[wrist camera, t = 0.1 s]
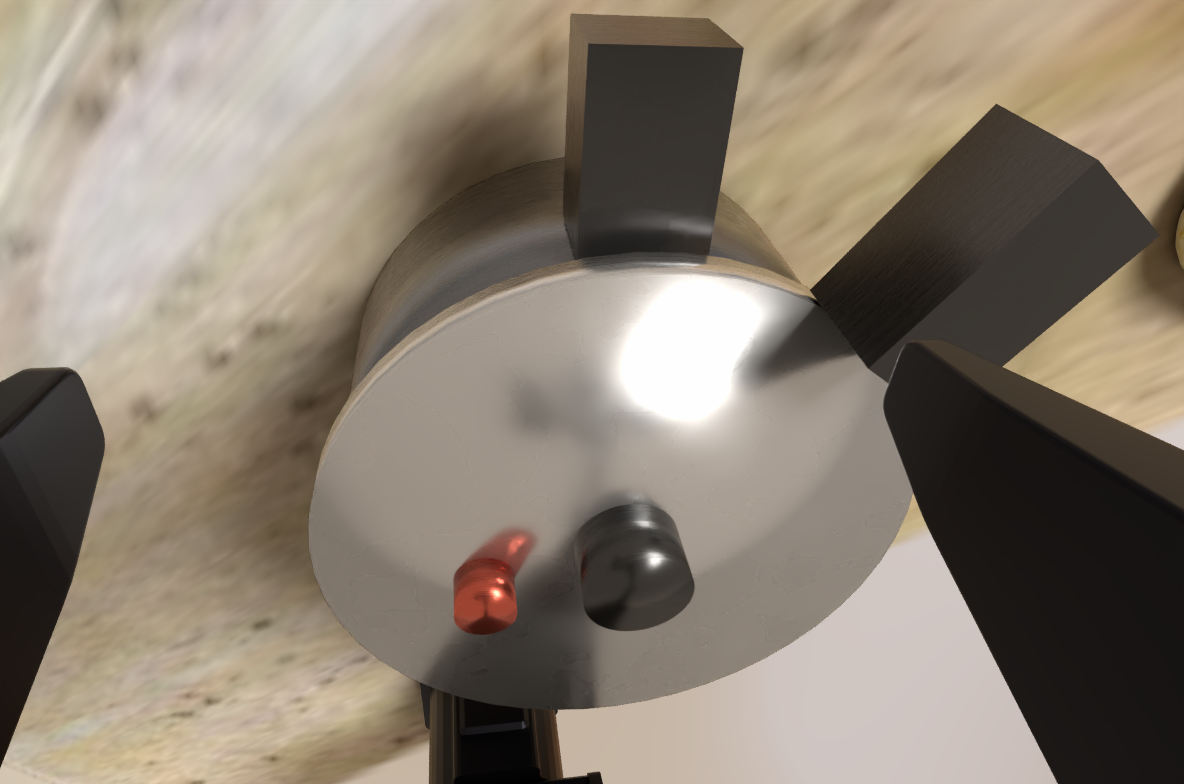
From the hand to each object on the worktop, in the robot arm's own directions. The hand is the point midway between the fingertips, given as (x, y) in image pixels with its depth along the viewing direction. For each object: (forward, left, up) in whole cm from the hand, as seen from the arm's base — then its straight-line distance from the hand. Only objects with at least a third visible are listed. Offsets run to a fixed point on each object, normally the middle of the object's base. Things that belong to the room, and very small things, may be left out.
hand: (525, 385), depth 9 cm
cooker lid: (-8, -5, -8) cm, 12 cm away
